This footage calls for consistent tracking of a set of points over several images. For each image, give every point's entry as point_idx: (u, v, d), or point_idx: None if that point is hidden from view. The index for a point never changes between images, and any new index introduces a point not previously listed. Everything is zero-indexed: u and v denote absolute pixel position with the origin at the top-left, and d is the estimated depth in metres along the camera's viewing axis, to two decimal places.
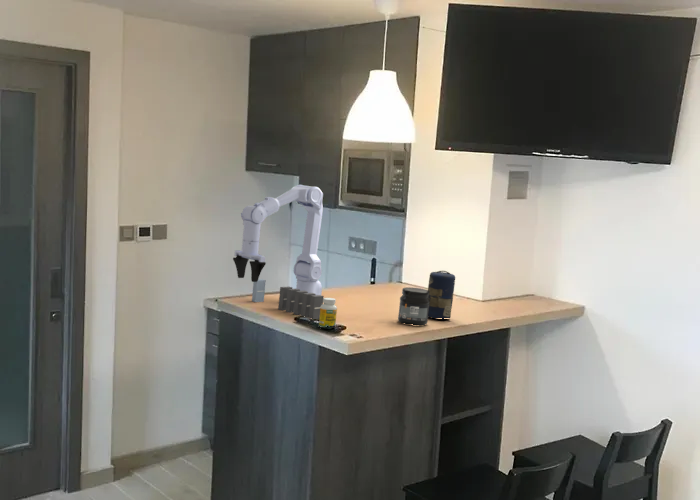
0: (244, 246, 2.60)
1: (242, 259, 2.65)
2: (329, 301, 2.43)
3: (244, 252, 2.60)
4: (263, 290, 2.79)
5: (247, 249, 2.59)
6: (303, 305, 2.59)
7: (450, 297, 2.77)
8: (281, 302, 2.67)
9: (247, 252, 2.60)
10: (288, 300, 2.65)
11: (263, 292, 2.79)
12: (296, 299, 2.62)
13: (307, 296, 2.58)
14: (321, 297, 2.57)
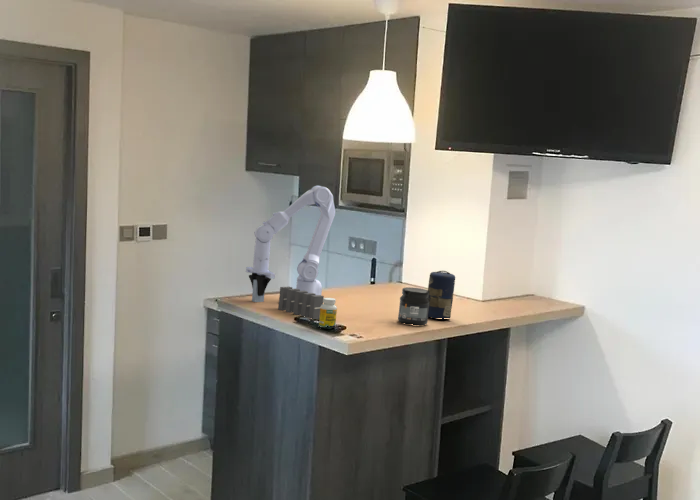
0: (255, 263, 2.76)
1: None
2: (329, 301, 2.43)
3: (255, 269, 2.76)
4: None
5: (258, 266, 2.75)
6: (303, 305, 2.59)
7: (450, 297, 2.77)
8: (281, 302, 2.67)
9: (258, 269, 2.75)
10: (288, 300, 2.65)
11: None
12: (296, 299, 2.62)
13: (307, 296, 2.58)
14: (321, 297, 2.57)
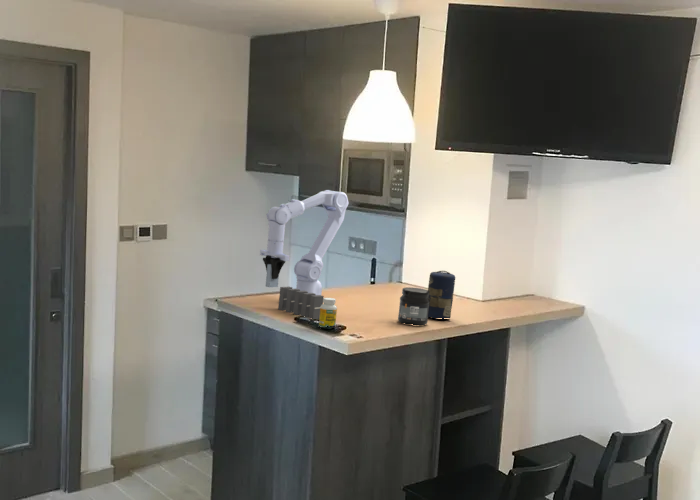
0: (269, 246, 2.70)
1: None
2: (329, 301, 2.43)
3: (269, 251, 2.70)
4: None
5: (272, 248, 2.70)
6: (303, 305, 2.59)
7: (450, 297, 2.77)
8: (281, 302, 2.67)
9: (272, 251, 2.70)
10: (288, 300, 2.65)
11: None
12: (296, 299, 2.62)
13: (307, 296, 2.58)
14: (321, 297, 2.57)
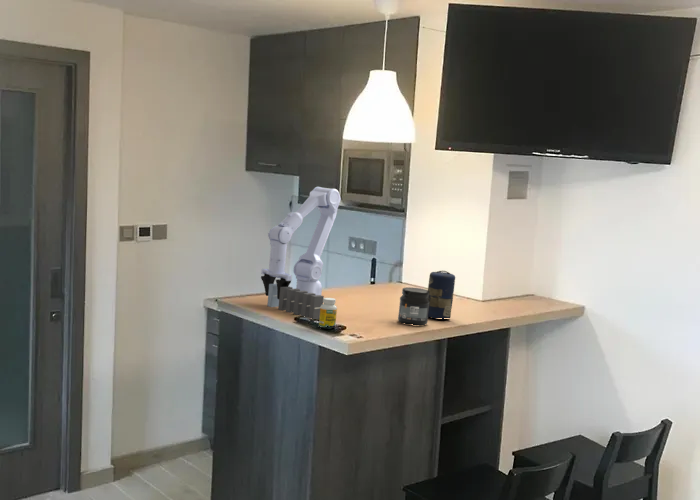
0: (271, 265, 2.69)
1: (270, 277, 2.74)
2: (329, 301, 2.43)
3: (271, 271, 2.70)
4: None
5: (274, 268, 2.69)
6: (303, 305, 2.59)
7: (450, 297, 2.77)
8: (281, 302, 2.67)
9: (274, 271, 2.69)
10: (288, 300, 2.65)
11: None
12: (296, 299, 2.62)
13: (307, 296, 2.58)
14: (321, 297, 2.57)
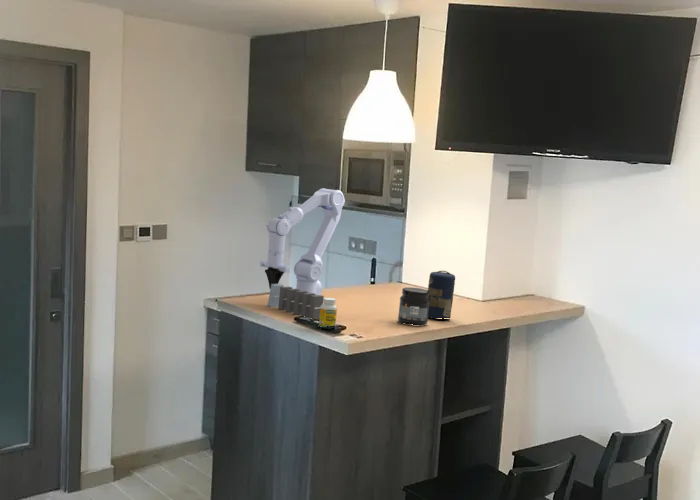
0: (270, 257, 2.70)
1: None
2: (329, 301, 2.43)
3: (270, 263, 2.70)
4: None
5: (273, 260, 2.70)
6: (303, 305, 2.59)
7: (450, 297, 2.77)
8: (281, 302, 2.67)
9: (273, 263, 2.70)
10: (288, 300, 2.65)
11: None
12: (296, 299, 2.62)
13: (307, 296, 2.58)
14: (321, 297, 2.57)
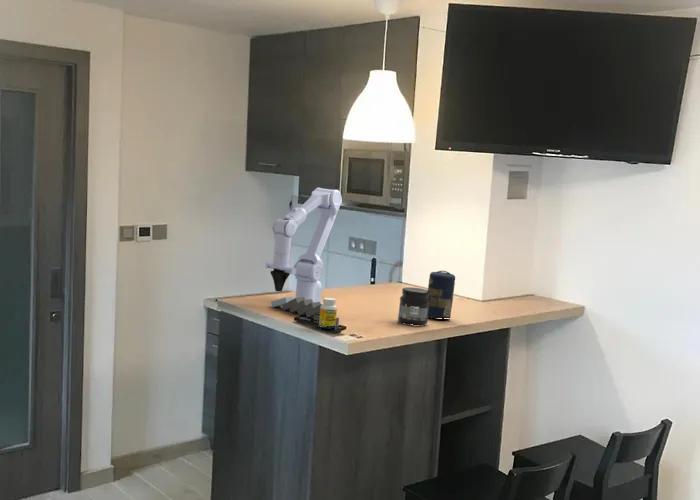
0: (275, 258, 2.68)
1: None
2: (329, 301, 2.43)
3: (275, 264, 2.68)
4: None
5: (278, 261, 2.67)
6: (313, 310, 2.56)
7: (450, 297, 2.77)
8: (287, 307, 2.65)
9: (278, 264, 2.67)
10: (297, 305, 2.61)
11: None
12: (307, 307, 2.58)
13: None
14: None
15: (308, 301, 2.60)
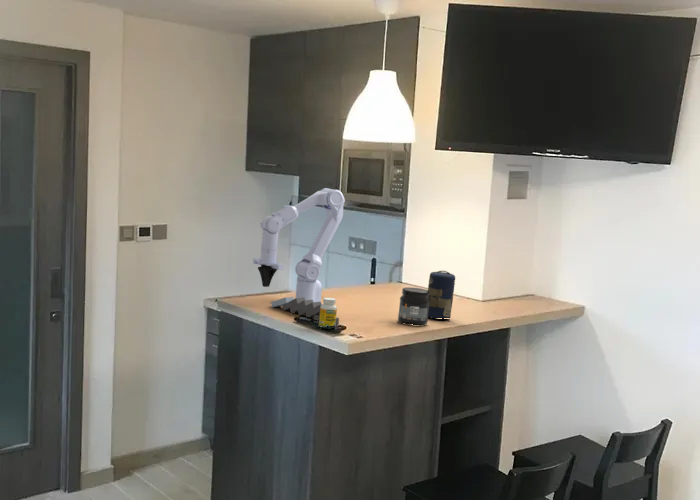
0: (263, 254, 2.73)
1: None
2: (329, 301, 2.43)
3: (263, 260, 2.73)
4: None
5: (265, 257, 2.72)
6: (313, 310, 2.56)
7: (450, 297, 2.77)
8: (287, 307, 2.65)
9: (265, 260, 2.72)
10: (297, 306, 2.61)
11: None
12: (308, 307, 2.58)
13: None
14: None
15: (308, 301, 2.60)
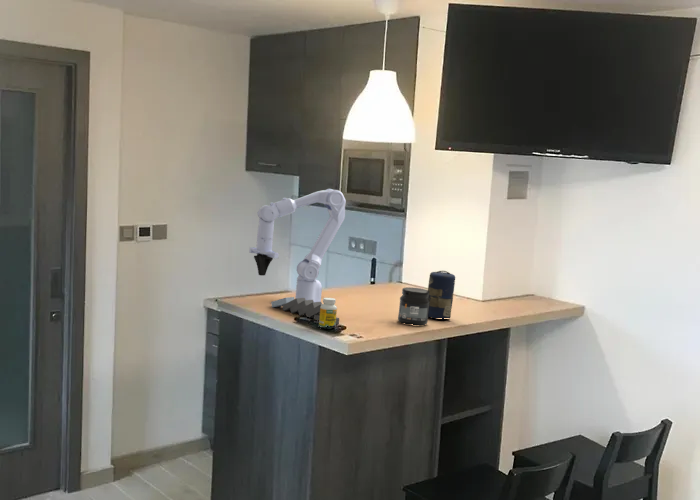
0: (259, 243, 2.74)
1: None
2: (329, 301, 2.43)
3: (259, 249, 2.74)
4: None
5: (261, 246, 2.74)
6: (313, 310, 2.56)
7: (450, 297, 2.77)
8: (287, 307, 2.65)
9: (261, 249, 2.74)
10: (297, 306, 2.61)
11: None
12: (308, 307, 2.58)
13: None
14: None
15: (309, 302, 2.60)
